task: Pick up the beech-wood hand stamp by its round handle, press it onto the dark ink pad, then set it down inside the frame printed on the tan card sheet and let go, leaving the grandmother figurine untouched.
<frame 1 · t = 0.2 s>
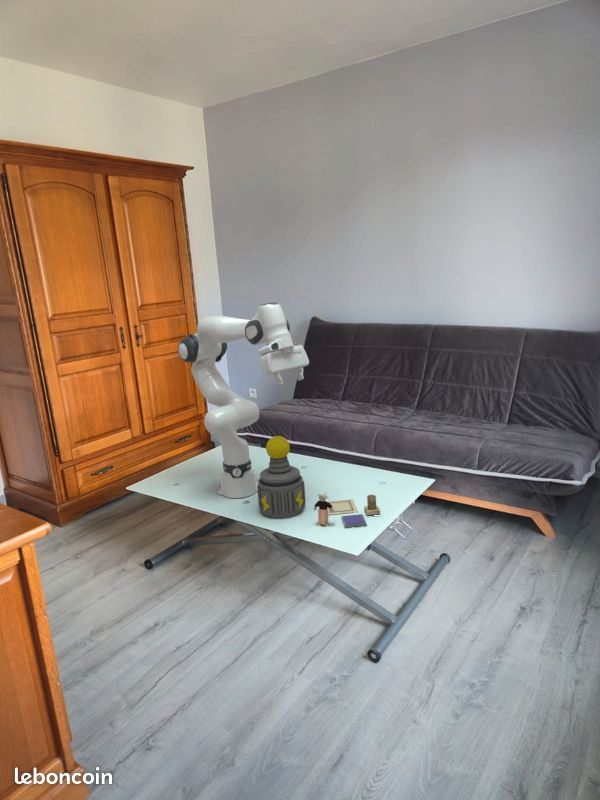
hand: (291, 382, 195), 52 cm above the table, tool tilted 20°, fingers open, 8 cm apart
ink pad: (354, 522, 197), on the table
grandmother figurine: (324, 524, 198), on the table
stamp: (372, 513, 204), on the table
card sheet: (340, 507, 211), on the table
grey toy tesla coil: (282, 509, 213), on the table
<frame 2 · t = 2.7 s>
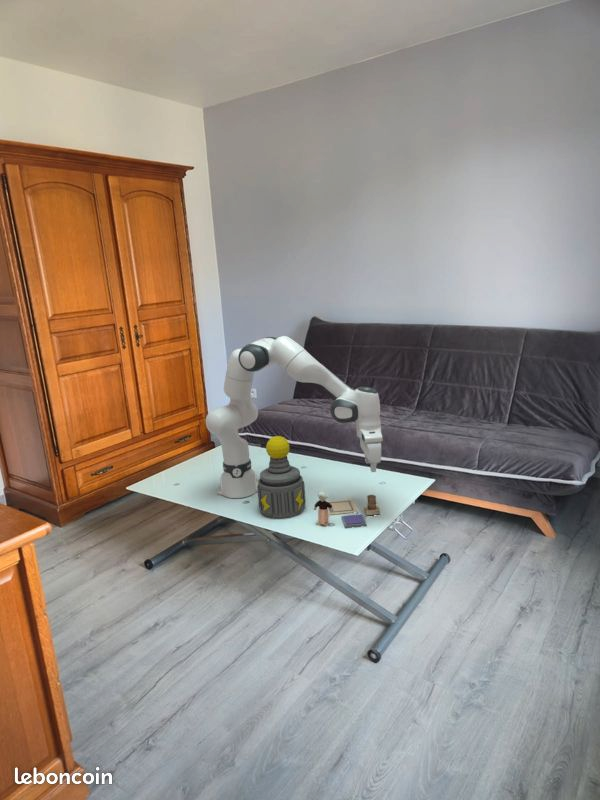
hand: (370, 467, 199), 19 cm above the table, tool pointing down, fingers open, 8 cm apart
nothing on the table moved.
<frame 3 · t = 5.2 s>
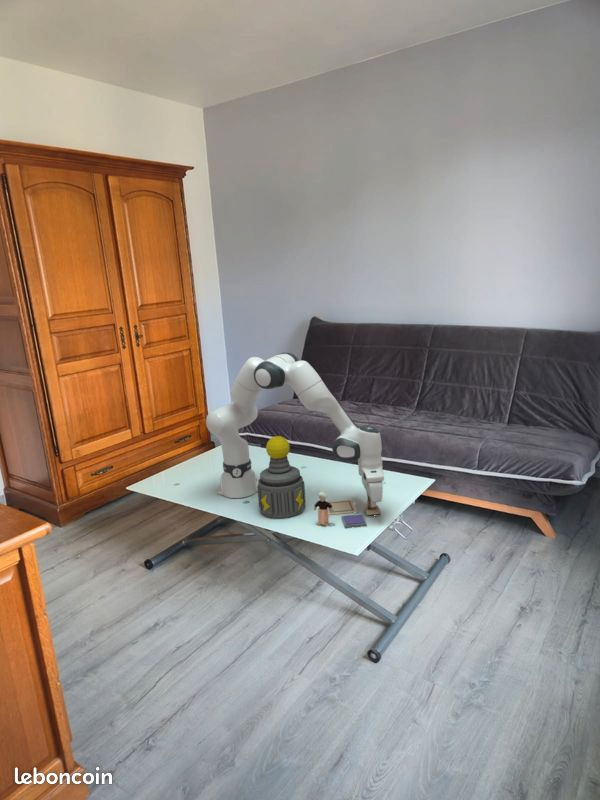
hand: (371, 503, 203), 4 cm above the table, tool pointing down, fingers closed on stamp, 3 cm apart
stamp: (372, 513, 204), on the table, touching gripper
everything else where it was.
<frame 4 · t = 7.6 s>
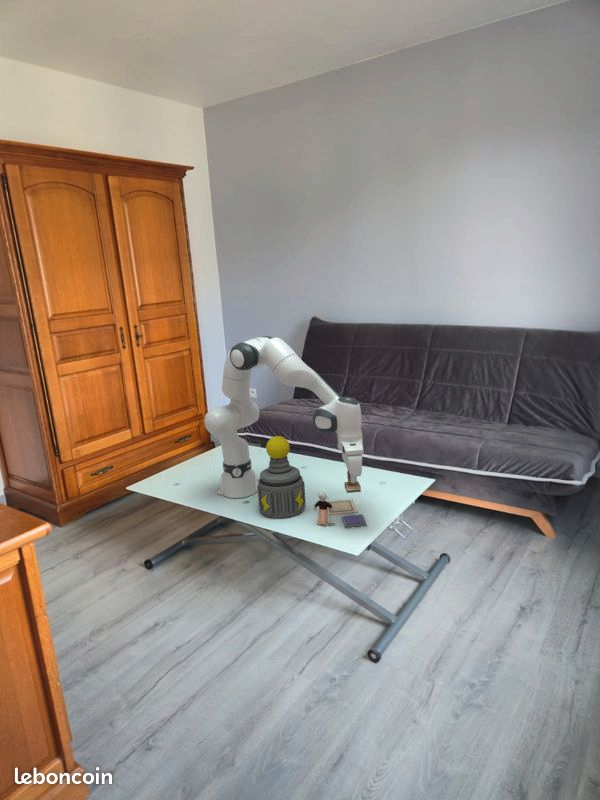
hand: (352, 479, 194), 17 cm above the table, tool pointing down, fingers closed on stamp, 3 cm apart
stamp: (352, 489, 195), point 13 cm above the table, touching gripper
everything else where it was.
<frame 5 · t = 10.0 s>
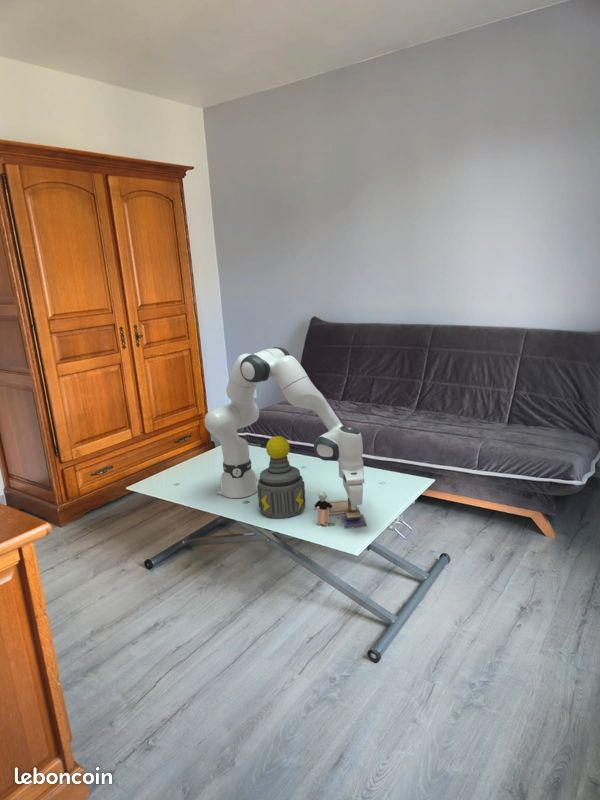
hand: (352, 506, 196), 6 cm above the table, tool pointing down, fingers closed on stamp, 3 cm apart
stamp: (352, 516, 197), point 2 cm above the table, touching gripper
everything else where it was.
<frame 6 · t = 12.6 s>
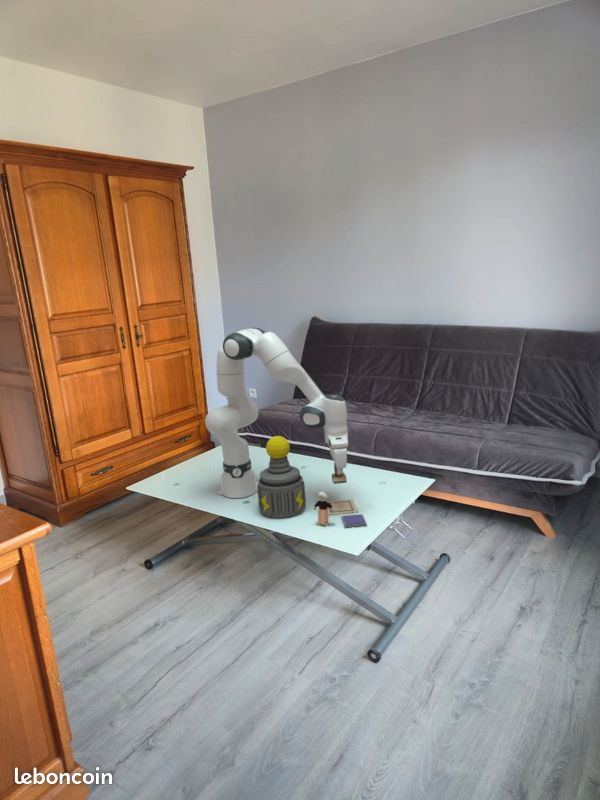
hand: (338, 471, 207), 15 cm above the table, tool pointing down, fingers closed on stamp, 3 cm apart
stamp: (339, 480, 208), point 11 cm above the table, touching gripper
everything else where it was.
when the fingers open (5 cm above the table, at t = 15.0 s): stamp stays where it is, resting on card sheet.
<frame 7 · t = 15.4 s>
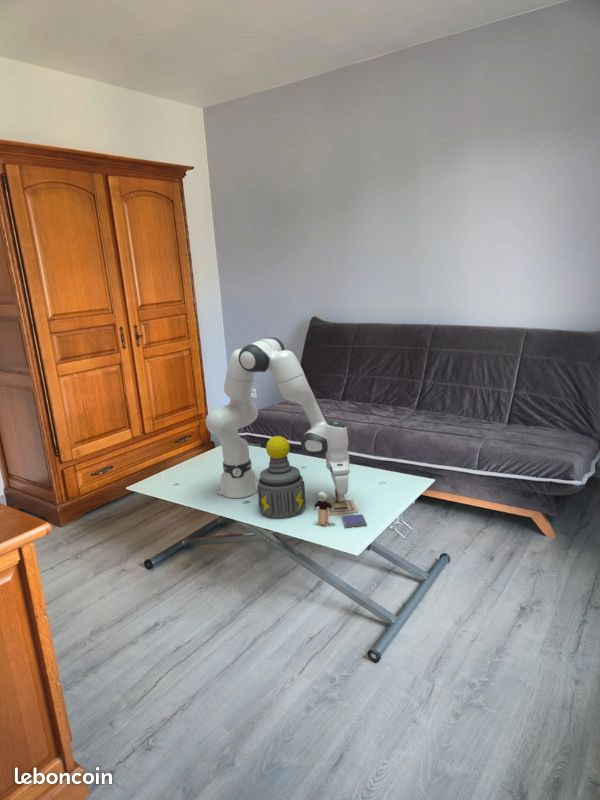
hand: (339, 496, 210), 5 cm above the table, tool pointing down, fingers open, 7 cm apart
stamp: (340, 506, 211), resting on card sheet
everything else where it was.
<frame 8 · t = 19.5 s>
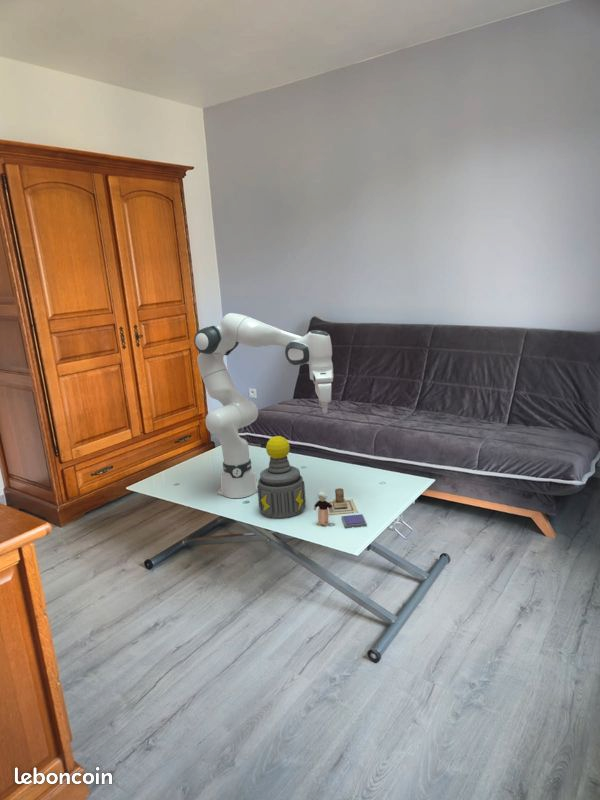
hand: (323, 409, 205), 39 cm above the table, tool pointing down, fingers open, 8 cm apart
nothing on the table moved.
at the end: stamp inside the target area on the card sheet (0.0 cm from its centre), point 0.3 cm above the card sheet's base; stamp tilted 0°; the gripper is holding nothing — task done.
